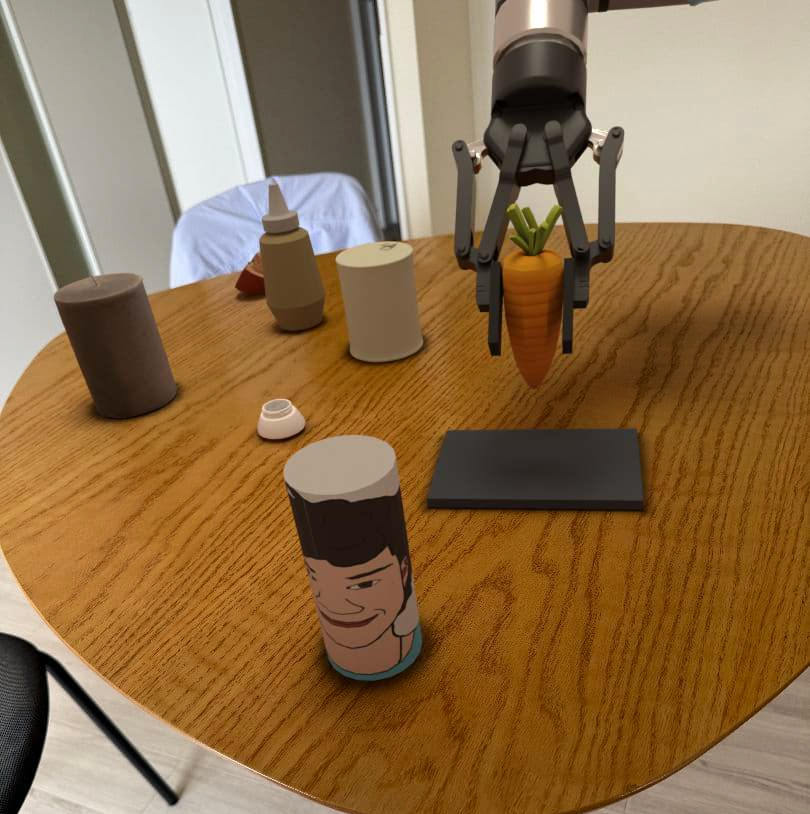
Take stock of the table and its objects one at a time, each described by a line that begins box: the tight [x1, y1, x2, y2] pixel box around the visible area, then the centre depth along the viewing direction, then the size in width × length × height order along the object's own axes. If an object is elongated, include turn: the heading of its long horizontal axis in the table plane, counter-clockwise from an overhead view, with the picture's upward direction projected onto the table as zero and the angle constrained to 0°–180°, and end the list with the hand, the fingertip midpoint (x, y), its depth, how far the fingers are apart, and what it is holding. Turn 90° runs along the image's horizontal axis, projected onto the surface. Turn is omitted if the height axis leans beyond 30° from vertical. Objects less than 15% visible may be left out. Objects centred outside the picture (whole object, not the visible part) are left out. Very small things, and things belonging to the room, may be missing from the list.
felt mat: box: [426, 427, 645, 511], centre depth 70 cm, size 18×12×1 cm, turn 79°
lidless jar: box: [256, 398, 306, 440], centre depth 82 cm, size 5×3×5 cm
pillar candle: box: [53, 272, 178, 419], centre depth 89 cm, size 10×10×15 cm
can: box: [335, 240, 424, 363], centre depth 94 cm, size 9×9×12 cm
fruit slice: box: [234, 251, 265, 295], centre depth 119 cm, size 8×7×5 cm
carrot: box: [501, 202, 564, 390], centre depth 61 cm, size 5×5×15 cm
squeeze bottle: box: [258, 182, 326, 331], centre depth 102 cm, size 8×8×18 cm
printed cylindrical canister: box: [283, 434, 423, 682], centre depth 51 cm, size 7×7×15 cm
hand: (530, 347), depth 60 cm, fingers closed on carrot, 5 cm apart
